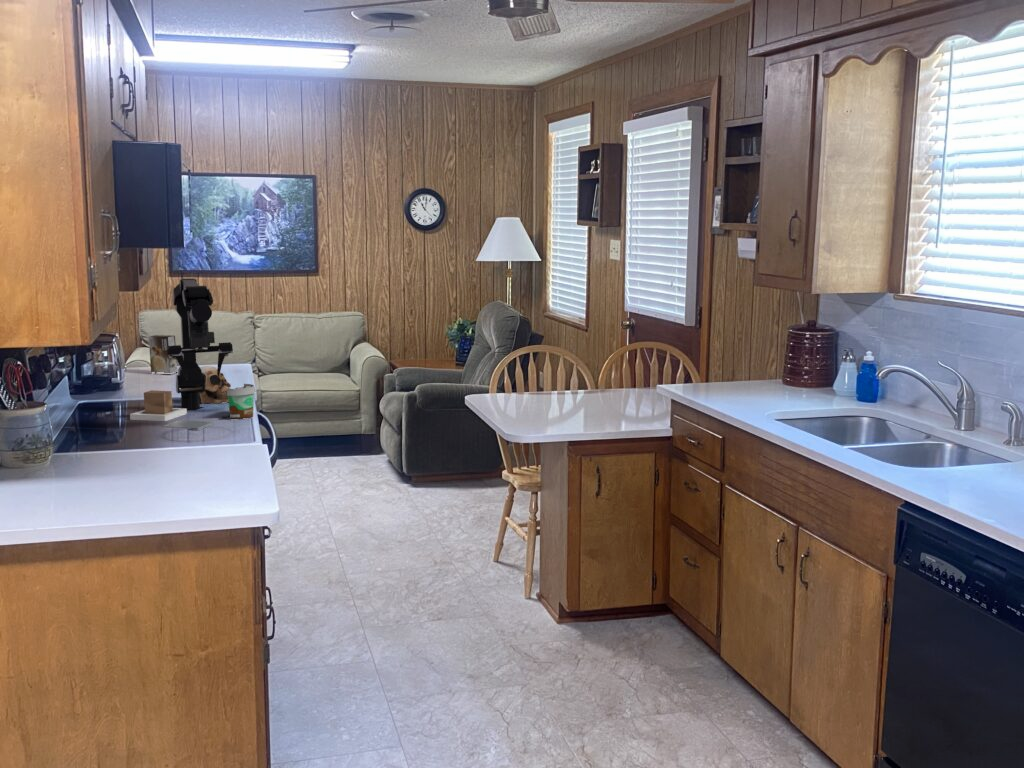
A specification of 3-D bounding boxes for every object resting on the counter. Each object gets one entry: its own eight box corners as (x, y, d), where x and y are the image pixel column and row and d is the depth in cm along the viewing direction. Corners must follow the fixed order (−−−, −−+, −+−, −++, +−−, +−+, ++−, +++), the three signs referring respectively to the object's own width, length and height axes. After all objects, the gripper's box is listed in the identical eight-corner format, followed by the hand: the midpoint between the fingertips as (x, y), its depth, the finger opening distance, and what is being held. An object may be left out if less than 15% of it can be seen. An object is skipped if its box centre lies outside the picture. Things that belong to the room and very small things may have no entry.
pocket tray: (153, 414, 322) (153, 407, 321) (186, 415, 319) (186, 408, 319) (130, 421, 309) (129, 414, 309) (164, 423, 307) (164, 415, 306)
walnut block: (153, 414, 317) (151, 390, 316) (172, 415, 315) (171, 391, 314) (145, 417, 312) (143, 392, 311) (165, 418, 311) (163, 393, 310)
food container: (246, 421, 310) (244, 389, 308) (228, 420, 311) (226, 389, 310) (263, 414, 322) (262, 384, 320) (246, 413, 323) (244, 383, 322)
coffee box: (178, 373, 416) (176, 335, 414) (170, 375, 410) (168, 336, 408) (158, 372, 418) (156, 334, 416) (150, 374, 412) (148, 336, 409)
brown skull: (238, 402, 344) (232, 364, 342) (187, 411, 337) (180, 372, 335) (231, 397, 358) (225, 360, 356) (182, 405, 351) (175, 368, 349)
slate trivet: (179, 422, 307) (179, 420, 307) (214, 424, 305) (214, 421, 305) (161, 428, 297) (161, 426, 297) (197, 430, 295) (197, 427, 295)
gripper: (164, 324, 287) (168, 378, 287) (231, 321, 293) (235, 373, 292) (166, 329, 298) (170, 381, 297) (230, 326, 304) (234, 376, 303)
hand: (202, 378), depth 297 cm, fingers open, 9 cm apart
